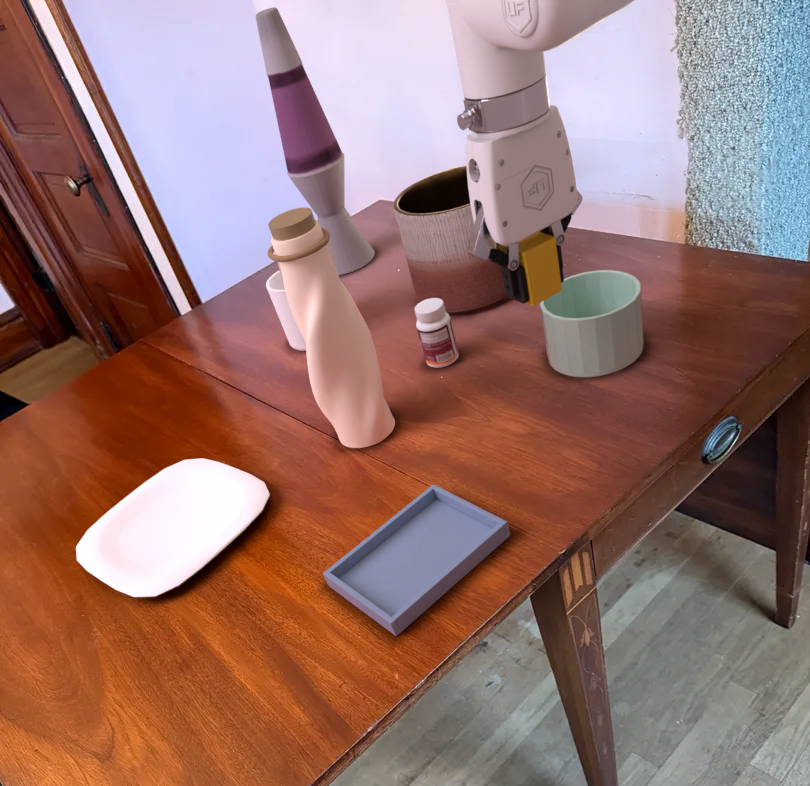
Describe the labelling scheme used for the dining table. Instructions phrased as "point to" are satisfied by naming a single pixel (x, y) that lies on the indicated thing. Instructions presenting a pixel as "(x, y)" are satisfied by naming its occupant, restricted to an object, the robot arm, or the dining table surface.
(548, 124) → the robot arm
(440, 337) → the pill bottle
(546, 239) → the yellow block
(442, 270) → the planter
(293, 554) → the dining table surface
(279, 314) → the mug
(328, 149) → the lamp
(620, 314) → the mint faceted tub
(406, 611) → the tray
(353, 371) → the water bottle
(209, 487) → the plate
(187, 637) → the dining table surface
